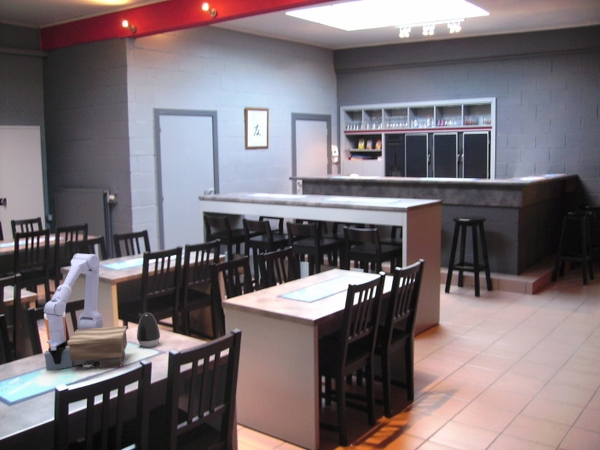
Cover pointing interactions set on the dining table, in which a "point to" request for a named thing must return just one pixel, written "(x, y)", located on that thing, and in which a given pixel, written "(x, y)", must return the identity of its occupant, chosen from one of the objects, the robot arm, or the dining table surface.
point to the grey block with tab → (63, 360)
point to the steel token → (88, 364)
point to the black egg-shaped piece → (147, 330)
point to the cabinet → (99, 345)
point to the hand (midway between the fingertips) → (59, 361)
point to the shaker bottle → (48, 326)
